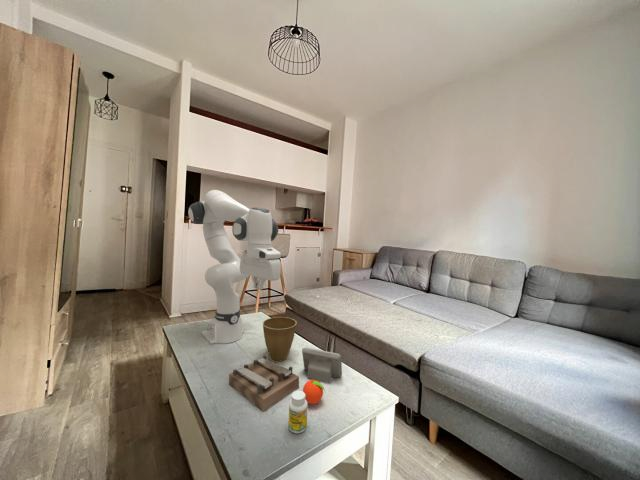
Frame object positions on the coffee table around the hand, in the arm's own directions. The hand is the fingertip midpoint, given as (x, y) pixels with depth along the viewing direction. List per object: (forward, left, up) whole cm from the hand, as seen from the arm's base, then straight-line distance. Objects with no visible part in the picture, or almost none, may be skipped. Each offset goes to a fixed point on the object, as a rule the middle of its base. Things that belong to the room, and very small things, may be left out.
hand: (258, 288), depth 91 cm
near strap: (+5, -5, -30) cm, 31 cm away
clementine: (+24, +6, -35) cm, 43 cm away
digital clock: (+16, +19, -35) cm, 44 cm away
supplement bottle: (+27, -5, -35) cm, 45 cm away
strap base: (+5, 0, -35) cm, 35 cm away
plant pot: (-6, +17, -35) cm, 40 cm away
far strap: (+5, +4, -30) cm, 31 cm away
